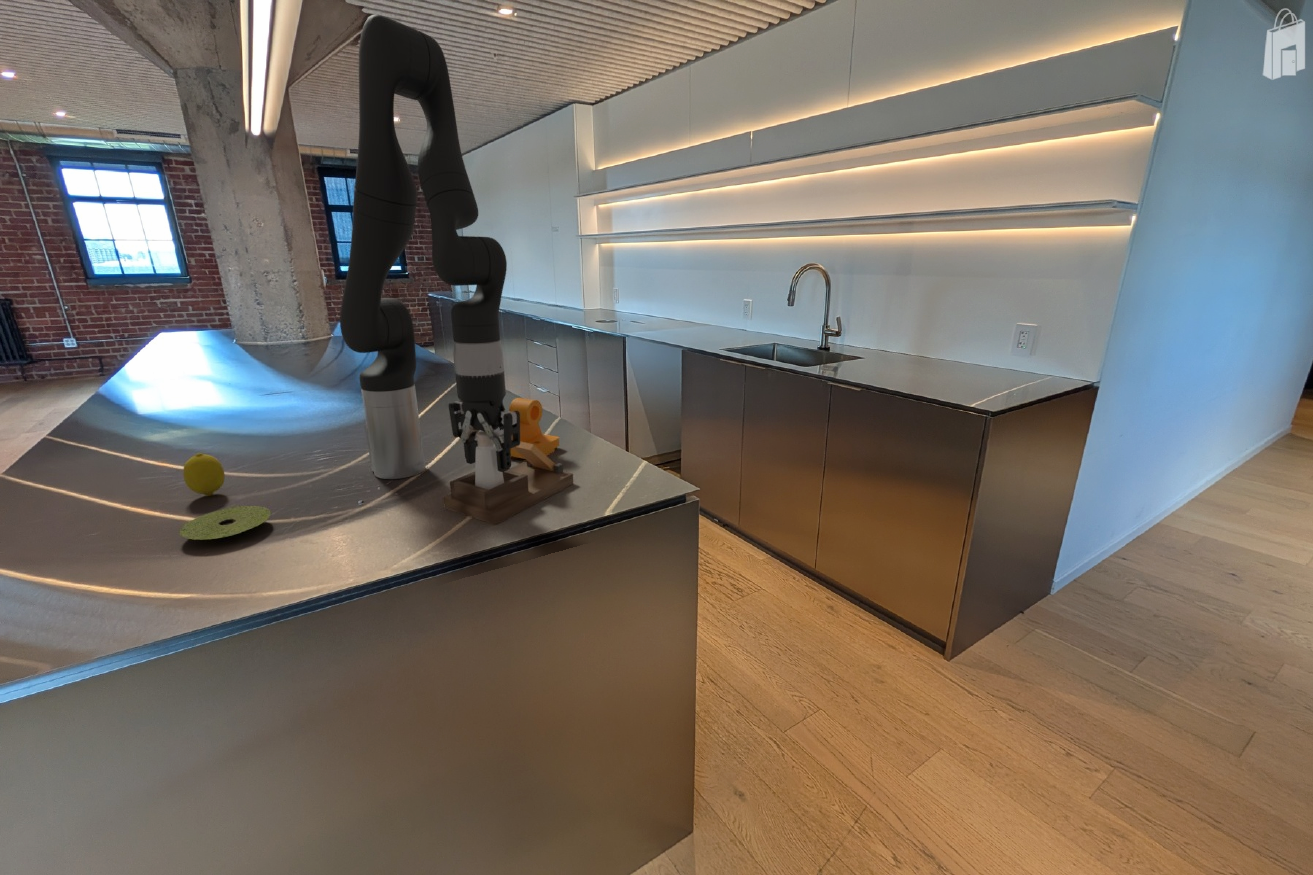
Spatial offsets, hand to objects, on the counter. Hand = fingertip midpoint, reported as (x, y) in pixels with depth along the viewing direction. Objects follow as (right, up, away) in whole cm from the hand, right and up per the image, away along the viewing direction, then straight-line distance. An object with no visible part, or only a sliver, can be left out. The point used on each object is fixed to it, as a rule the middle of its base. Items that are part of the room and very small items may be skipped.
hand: (488, 466), depth 94 cm
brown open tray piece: (+2, -6, +6) cm, 9 cm away
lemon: (-51, -6, +5) cm, 51 cm away
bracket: (+2, +1, +28) cm, 28 cm away
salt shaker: (0, -5, +2) cm, 5 cm away
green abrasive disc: (-37, -10, -8) cm, 40 cm away
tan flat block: (+5, +1, +10) cm, 11 cm away
